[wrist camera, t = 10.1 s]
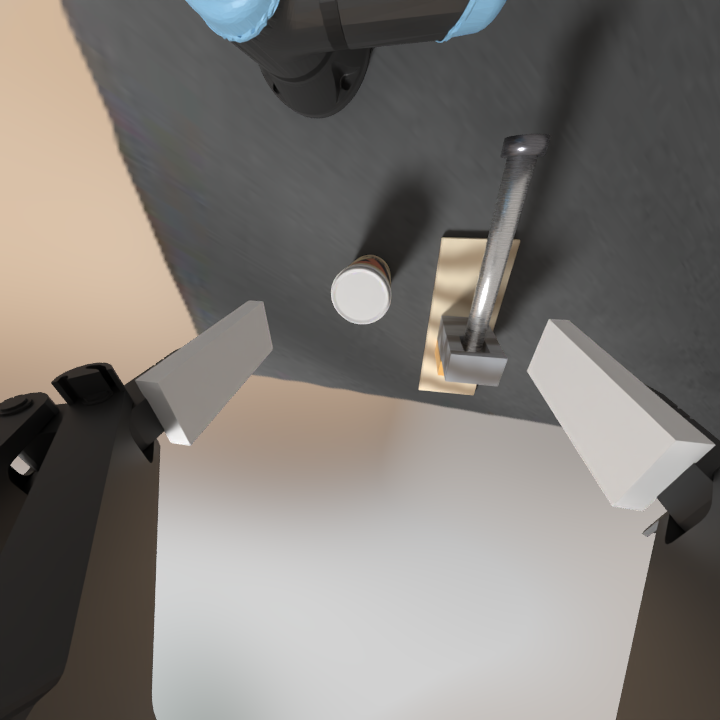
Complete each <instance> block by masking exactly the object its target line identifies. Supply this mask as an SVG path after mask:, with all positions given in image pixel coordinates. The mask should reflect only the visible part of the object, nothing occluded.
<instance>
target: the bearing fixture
mask: <svg viewBox="0 0 720 720" xmlns="http://www.w3.org/2000/svg"><path fill="white" fill-rule="evenodd" d="M487 239H488V238H457V237H442V239H441V246H440V252H439V259H438V265H437V272H436V278H435V285H434V291H433V298H432V304H431V311H430V317H429V324H428V330H427V337H426V343H425V350H424V356H423V363H422V369H421V376H420V382H419V390H426V391H436V392H446V393H456V394H466V395H474V392H475V389H476V385H477V384H479V385H489V386H498V384H499V381H500V378H501V376H502V373H503V370H504V367H505V365H506V362H507V357H506V355H505V353H504V352H503V350H502V348H501V346H500V344H499V343H498V341H497V338H496V336H495V334H494V333H493V329H494V326H495V323H496V319H497V316H498V313H499V310H500V306H501V303H502V300H503V296H504V293H505V290H506V287H507V283H508V280H509V277H510V273H511V270H512V267H513V264H514V260H515V257H516V254H517V250H518V247H519V244H520V240H519V239H513V243H512V246H511V250H510V253H509V257H508V260H507V263H506V267H505V270H504V274H503V277H502V281H501V284H500V288H499V291H498V295H497V298H496V301H495V305H494V308H493V312H492V315H491V319H490V322H489V326H488V329H487V332H486V336H485V339H484V343H483V346H482V350H481V352H468V351H464V350H463V347H462V343H463V339H464V334H465V330H466V326H467V322H468V318H469V314H470V310H471V305H472V301H473V297H474V293H475V289H476V285H477V280H478V276H479V272H480V268H481V264H482V260H483V255H484V251H485V247H486V243H487ZM437 340H438V346H439V352H440V358H441V361H442V366H443V372H444V376H442V375H438V373H437V366H436V359H435V348H436V342H437Z"/></svg>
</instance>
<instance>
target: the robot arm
mask: <svg viewBox="0 0 720 720" xmlns="http://www.w3.org/2000/svg"><path fill="white" fill-rule="evenodd" d="M186 1H187V2H188V4H189V5H190V6H191V7H192V8H193V9H194V10H195V11H196V12H197V13H198V14H199V15H200V16H201V17H202V18H203V19H204V20H205V22H206V23H207V25H208V26H209V27H210V28H211V29H212V30H213V31H214V32H215V33H216V34H218V35H219V36H222V37H223V38H224V39H226V38H227V39H228V40H229V41H230V42H232V43H233V44H234V45H235V46H237V47H238V48H239V49H240V50H242V51H243V52H244V53H245V54H247V55H248V56H249V57H250V58H252V59H253V60H254V61H255V62H257V63H258V64H259V67H260V69H261V72H262V74H263V76H264V78H265V80H266V81H267V83H268V85H269V86H270V88H271V89H272V91H273V92H274V93H275V95H276V96H277V97H278V98H279V99H280V100H281V101H282V102H283V103H284V104H285V105H287V106H288V107H289V108H291V109H292V110H294V111H295V112H297V113H299V114H301V115H303V116H306V117H310V118H325V117H329V116H331V115H334V114H336V113H337V112H339V111H340V110H342V109H343V108H344V107H345V106H346V105H347V104H348V103H349V102H350V101H351V100H352V98H353V97H354V96H355V94H356V93H357V91H358V89H359V87H360V85H361V83H362V81H363V78H364V76H365V73H366V69H367V66H368V61H369V56H370V49H371V47H380V46H390V45H399V44H409V43H418V42H428V41H436V42H438V43H443V41H447V40H449V39H450V38H451V37H456V36H462V35H467V34H473V33H477V32H479V31H480V30H482V29H484V28H485V27H486V26H487V25H489V24H490V23H491V22H492V21H493V20H494V19H495V17H496V16H497V15H498V13H499V12H500V11H501V9H502V7H503V6H504V4H505V2H506V1H507V0H186ZM272 350H273V346H272V342H271V337H270V332H269V327H268V322H267V317H266V313H265V308H264V303H263V301H248V302H246V303H245V304H243V305H242V306H240V307H239V308H238V309H236V310H235V311H233V312H232V313H230V314H229V315H228V316H226V317H225V318H223V319H222V320H220V321H219V322H217V323H216V324H215V325H213V326H212V327H210V328H209V329H207V330H206V331H205V332H203V333H202V334H200V335H199V336H197V337H196V338H195V339H193V340H192V341H190V342H189V343H187V344H186V345H184V346H183V347H182V348H179V349H177V350H175V351H173V352H172V353H170V354H169V355H168V356H166V357H165V358H164V359H162V360H160V361H159V362H157V363H156V365H153V366H152V367H150V368H149V369H147V370H146V371H145V372H143V373H142V374H140V375H139V376H137V377H136V378H134V379H133V380H131V381H130V382H128V383H127V384H126V385H123V383H122V382H121V380H120V379H119V377H118V375H117V374H116V372H115V370H114V369H113V367H112V366H111V365H110V364H108V363H93V364H87V365H84V366H81V367H77V368H74V369H72V370H69V371H67V372H65V373H63V374H61V375H60V376H58V377H56V378H55V379H54V380H53V381H52V382H51V383H52V385H53V386H54V387H55V388H56V390H57V391H58V392H59V394H60V395H61V396H62V397H63V398H64V400H65V401H66V402H67V404H58V405H56V404H55V403H54V402H53V401H52V400H51V399H50V398H49V396H48V395H47V394H45V393H42V392H38V393H29V394H25V395H18V396H15V397H14V398H9V399H7V400H5V401H4V402H2V403H0V720H156V717H155V714H154V711H153V705H152V669H153V668H152V667H153V640H154V612H155V582H156V554H157V551H156V550H157V523H158V496H159V465H160V464H159V463H160V445H159V442H158V440H157V439H156V438H157V437H158V436H159V435H160V434H162V433H163V432H165V433H166V435H167V437H168V438H169V440H170V442H171V443H175V444H182V445H189V446H191V445H192V444H193V442H194V441H195V440H196V439H197V438H198V436H199V435H200V434H201V433H202V432H203V431H204V430H205V428H206V427H207V426H208V425H209V424H210V422H211V421H212V420H213V419H214V418H215V416H216V415H217V414H218V413H219V412H220V411H221V410H222V408H223V407H224V406H225V405H226V404H227V402H228V401H229V400H230V399H231V398H232V397H233V396H234V394H235V393H236V392H237V391H238V390H239V388H240V387H241V386H242V385H243V384H244V383H245V381H246V380H247V379H248V378H249V377H250V376H251V374H252V373H253V372H254V371H255V370H256V369H257V367H258V366H259V365H260V364H261V363H262V362H263V360H264V359H265V358H266V357H267V356H268V355H269V353H270V352H271V351H272ZM527 372H528V373H529V375H530V377H531V378H532V380H533V381H534V383H535V385H536V386H537V388H538V389H539V391H540V393H541V394H542V396H543V397H544V399H545V400H546V402H547V404H548V405H549V407H550V408H551V410H552V412H553V413H554V415H555V416H556V418H557V420H558V421H559V423H560V424H561V426H562V427H563V429H564V430H565V432H566V434H567V435H568V437H569V439H570V440H571V442H572V443H573V445H574V447H575V448H576V450H577V451H578V453H579V454H580V456H581V458H582V459H583V461H584V462H585V464H586V465H587V467H588V469H589V470H590V472H591V474H592V475H593V477H594V478H595V480H596V482H597V483H598V485H599V486H600V488H601V489H602V491H603V492H604V494H605V496H606V497H607V499H608V501H609V502H610V504H611V505H612V507H619V508H625V509H632V510H639V511H644V510H645V509H646V508H647V507H648V506H649V505H650V504H651V503H653V502H654V501H655V500H656V499H658V500H659V501H660V502H661V504H662V505H663V506H664V507H665V509H666V510H667V512H666V513H665V514H664V515H662V516H661V517H660V518H659V519H657V520H656V521H655V522H654V523H653V524H651V525H650V526H649V527H648V528H647V529H646V530H645V531H644V532H643V535H645V536H647V537H648V536H650V535H651V534H652V533H656V536H655V541H654V545H653V550H652V554H651V559H650V564H649V569H648V573H647V577H646V582H645V587H644V591H643V596H642V601H641V605H640V610H639V615H638V619H637V624H636V628H635V633H634V638H633V642H632V648H631V652H630V656H629V661H628V666H627V670H626V675H625V680H624V684H623V689H622V693H621V698H620V703H619V707H618V713H617V717H616V720H720V441H719V440H718V439H717V438H716V437H714V436H713V435H712V434H711V433H710V432H708V431H707V430H706V429H705V428H704V427H702V426H701V425H700V424H699V423H697V422H696V421H695V420H694V419H690V416H689V415H688V414H686V413H685V412H684V411H683V410H682V409H678V408H677V407H678V406H677V405H676V404H674V403H673V402H672V401H671V400H669V399H668V398H667V397H666V396H665V395H663V394H662V393H660V392H658V391H656V390H654V389H653V388H651V387H649V386H647V385H645V384H643V383H642V382H641V381H640V380H638V379H637V378H636V377H635V376H634V375H633V374H631V373H630V372H629V371H628V370H627V369H625V368H624V367H623V366H622V365H621V364H620V363H618V362H617V361H616V360H615V359H614V358H612V357H611V356H610V355H609V354H608V353H607V352H605V351H604V350H603V349H602V348H601V347H599V346H598V345H597V344H596V343H595V342H594V341H592V340H591V339H590V338H589V337H588V336H586V335H585V334H584V333H583V332H582V331H581V330H579V329H578V328H577V327H576V326H575V325H573V324H572V323H571V322H570V321H569V320H557V319H549V320H548V323H547V325H546V327H545V330H544V332H543V334H542V337H541V339H540V342H539V344H538V346H537V349H536V351H535V353H534V356H533V358H532V361H531V363H530V365H529V368H528V370H527ZM17 456H19V457H20V458H21V459H22V460H23V461H24V462H25V463H27V464H28V465H29V466H30V469H29V470H28V471H27V472H26V473H25V474H24V475H21V474H19V473H18V472H17V471H16V470H14V469H13V468H12V467H11V466H10V465H11V463H12V462H13V460H14V459H15V458H16V457H17Z"/></svg>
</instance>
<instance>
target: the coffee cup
mask: <svg viewBox="0 0 720 720" xmlns="http://www.w3.org/2000/svg"><path fill="white" fill-rule="evenodd" d="M331 298H332V302H333V305H334V307H335V309H336V310H337V311H338V313H339V314H340V315H341V316H342V317H343V318H345V319H346V320H348V321H350V322H352V323H356V324H369V323H372V322H375V321H377V320H379V319H380V318H381V317H382V316H383V315H384V314H385V313H386V312H387V310H388V308H389V306H390V303H391V275H390V270H389V267H388V265H387V264H386V262H385V261H384V260H383V259H381V258H380V257H378V256H375V255H365V256H362V257H360V258H358V259H357V260H355V261H354V262H353V263H352V264H350V265H349V266H348V267H347V268H345V269H343V270H342V271H341V272H340V273H339V274H338V275H337V276H336V278H335V279H334V281H333V284H332V288H331Z"/></svg>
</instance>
